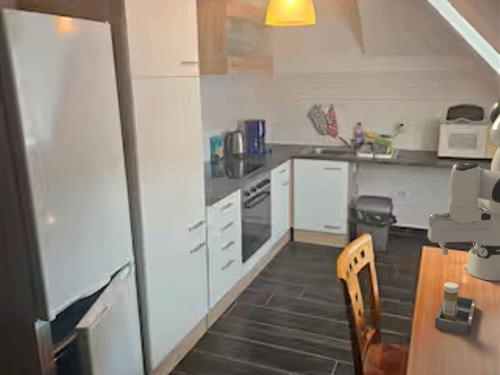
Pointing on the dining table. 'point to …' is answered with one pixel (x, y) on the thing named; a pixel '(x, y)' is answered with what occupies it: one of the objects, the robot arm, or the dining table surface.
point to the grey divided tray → (458, 316)
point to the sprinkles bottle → (450, 301)
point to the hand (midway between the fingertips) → (459, 253)
